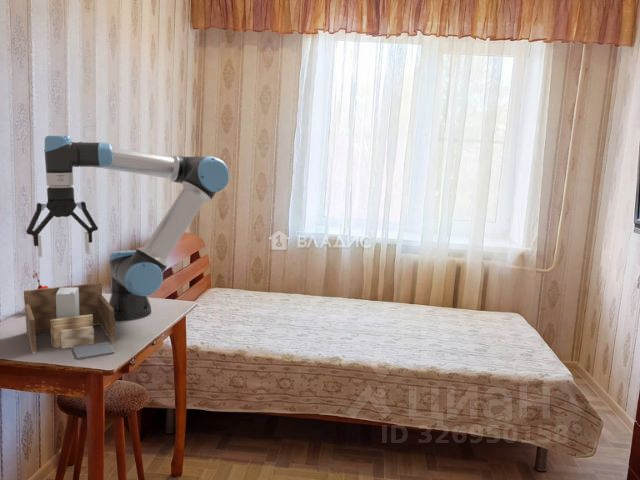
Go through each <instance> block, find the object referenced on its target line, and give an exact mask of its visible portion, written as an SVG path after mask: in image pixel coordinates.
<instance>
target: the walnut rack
mask: <svg viewBox="0 0 640 480" xmlns="http://www.w3.org/2000/svg"><path fill="white" fill-rule="evenodd" d="M69 287H78V288H79V311H80V316H82V315H90V314H92V315H93V326H96V325H100V327H101V329H103V331H104V332H105V334H106V335H107V336H108V338H109V340H110V341H112V342H113V341H116V327H115V326H116V323H115V319H114V309H113V308H112V306H111V305H110V304H109V301H108V300H107V299H106V298H105V297H104V296H103V291H102V290H103V289H102V288H103V287H102V283H101V282H93V283H87V284H86V283H85V284H84V283H83V284H76V285H75V284H74V285H65V286H57V287H48V288H45V289H38V288H37V289H28V290H26V289H25V290H23V300H24V314H25V315H24V316H25V317H24V318H25V326H26V327H25V329H26V330H25V331H26V335H27V339H28V343H29V346H30V347H29V348H30V349H31V350H30V351H31V353H33V352H35V353H37V352H38V351H37V337H36V334H38V333H43V332H51V328H50V320H51V319H57V317H56V293H57V292H58V290H59V288H69Z"/></svg>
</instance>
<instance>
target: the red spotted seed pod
mask: <svg viewBox="0 0 640 480" xmlns="http://www.w3.org/2000/svg"><path fill="white" fill-rule="evenodd" d="M33 272H34V273H32V278H33V279H35V278H36V279H37V283H38V286H37V289H45V288H49V286H48V285H42V284H41V282H40V281H41V280H40V278H39V277H38V274H39V273H40V272H38V273H37V272H36V271H35V270H33Z"/></svg>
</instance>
